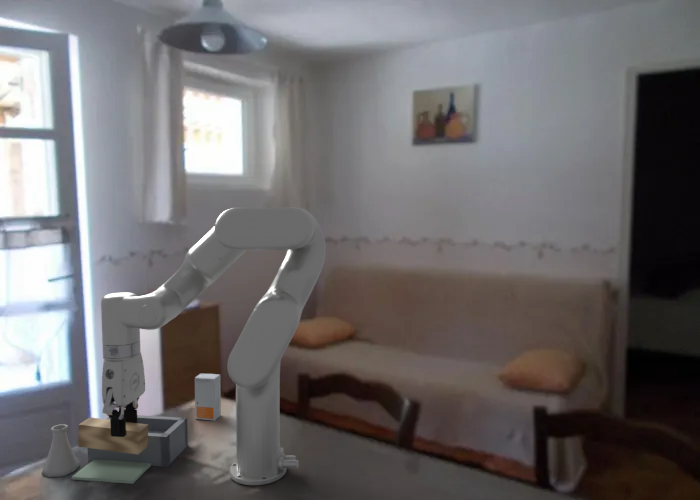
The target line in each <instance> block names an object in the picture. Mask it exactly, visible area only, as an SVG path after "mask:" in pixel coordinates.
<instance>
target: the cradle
mask: <svg viewBox="0 0 700 500" xmlns="http://www.w3.org/2000/svg"><path fill="white" fill-rule="evenodd" d="M106 419H107V420H110V419H109V417H107V418H106ZM137 423H140V424H148V446H147V447H146V448H145V449H144V450H143V451H142V452H141V453H139V454H132V453H124V452H116V451H108V450H101V449H93V448H87V462H88V463H90V462H91V461H93V460H94V459H96V460H111V461H126V462H141V463H151V467H164V468H167V467H168V466H169V465H171V463H172V462H174V460H176V458H178V456H180V454H181V453H182V452H183V451H184V450H185V449H186V448H187V447H188V446H189V445H188V444H189V441H188V440H189V438H188V437H189V436H188V435H189V434H188V433H189V432H188V417H179V416H178V417H175V416H162V415H161V416H160V415H140V414H137Z"/></svg>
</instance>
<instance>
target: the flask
mask: <svg viewBox="0 0 700 500" xmlns="http://www.w3.org/2000/svg"><path fill="white" fill-rule="evenodd" d="M68 428H69V425H68V424H64V423H63V424H62V423H61V424H57V425H53V426H52V427H51V428H50V431H51V433H52V439H51V444H50V448H49V451H48V453H47V457H46V460H45V463H44V466H43V468H42V471H41V475H43V476H45V477H48V478H59V477H65V476H66V475H69V474H71V473H74V472H76V471H77V470H78V468H79V467H80V466H81V463H80V461H79V459H78V457H77V456H76V454H75V452H74V450H73V447H72V446H71V444H70V441H69V438H68V437H69V436H68V434H67V433H68V432H67V429H68Z"/></svg>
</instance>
